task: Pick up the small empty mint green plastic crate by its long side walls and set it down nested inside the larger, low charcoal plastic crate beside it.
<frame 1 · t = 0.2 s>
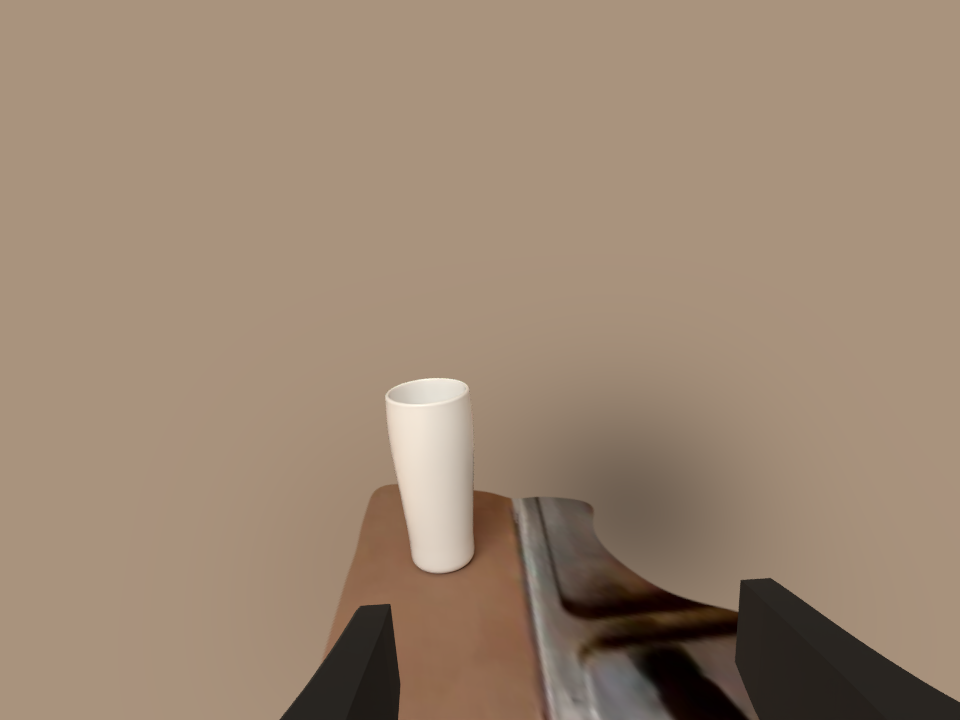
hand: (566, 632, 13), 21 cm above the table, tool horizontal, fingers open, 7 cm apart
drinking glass: (443, 560, 53), on the table
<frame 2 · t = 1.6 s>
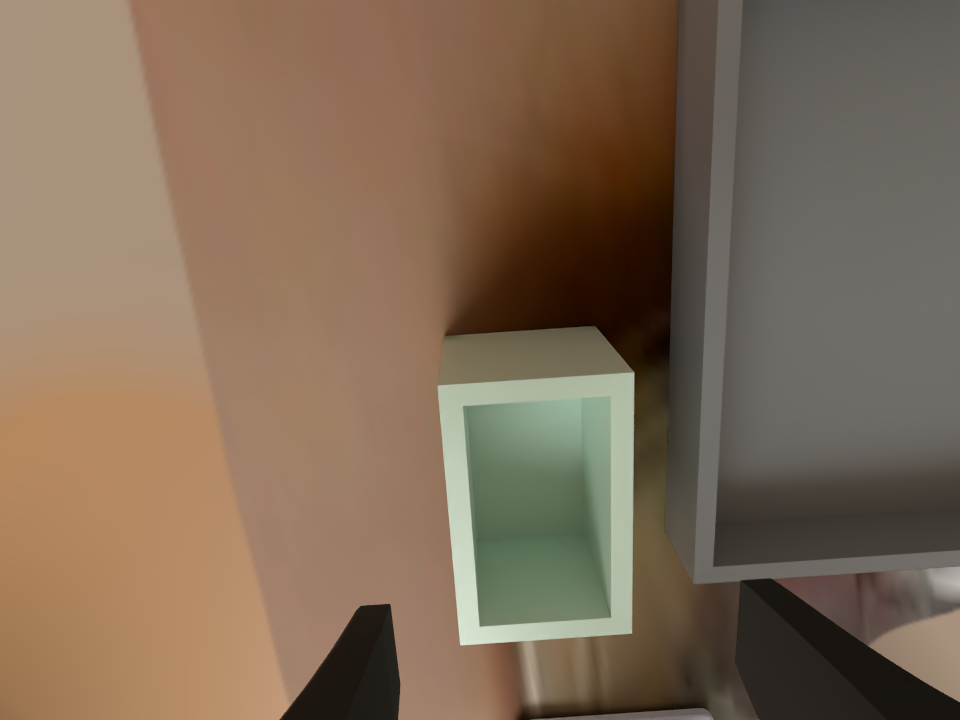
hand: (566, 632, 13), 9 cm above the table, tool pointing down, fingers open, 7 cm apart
charcoal crate: (885, 276, 20), on the table
mint crate: (524, 441, 22), on the table
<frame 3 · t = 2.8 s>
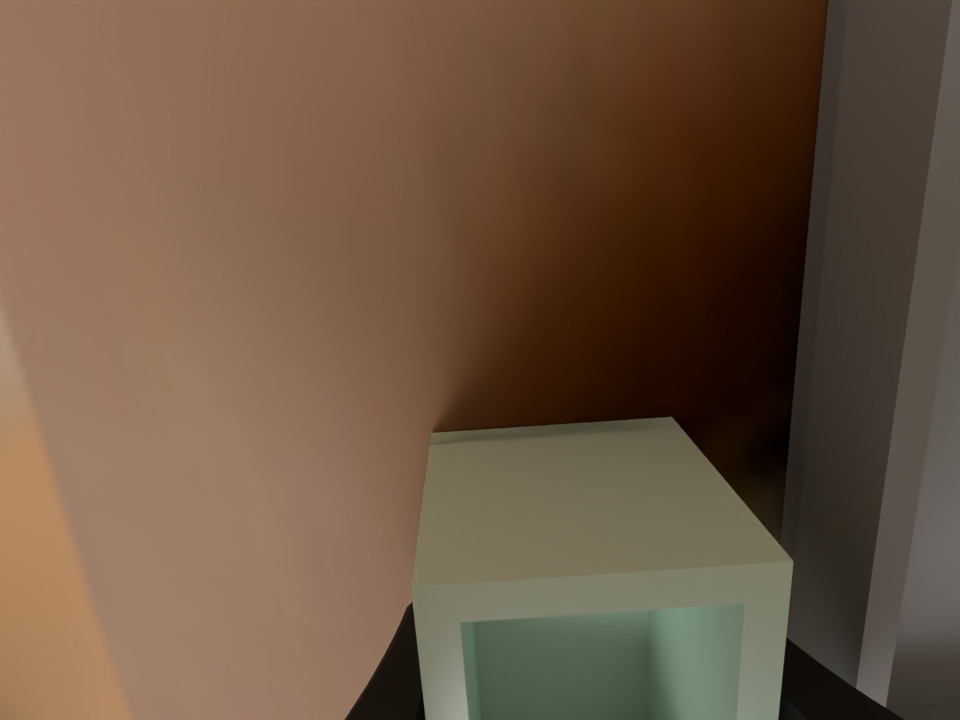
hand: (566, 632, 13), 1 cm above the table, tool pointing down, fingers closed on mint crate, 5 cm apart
mint crate: (556, 588, 14), on the table, touching gripper
when the fingers open (3 cm above the table, at t = 7.0 s): mint crate drops 1 cm, resting on charcoal crate.
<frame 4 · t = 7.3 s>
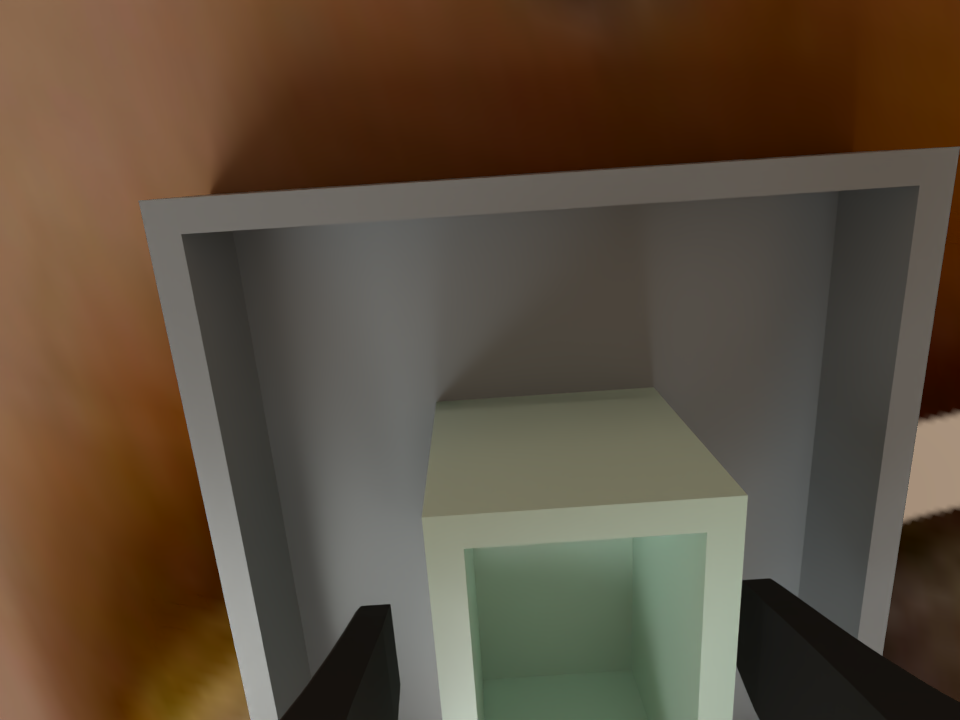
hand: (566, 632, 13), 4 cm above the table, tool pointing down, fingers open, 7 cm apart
charcoal crate: (545, 536, 16), on the table
mint crate: (550, 545, 15), point 1 cm above the table, touching charcoal crate
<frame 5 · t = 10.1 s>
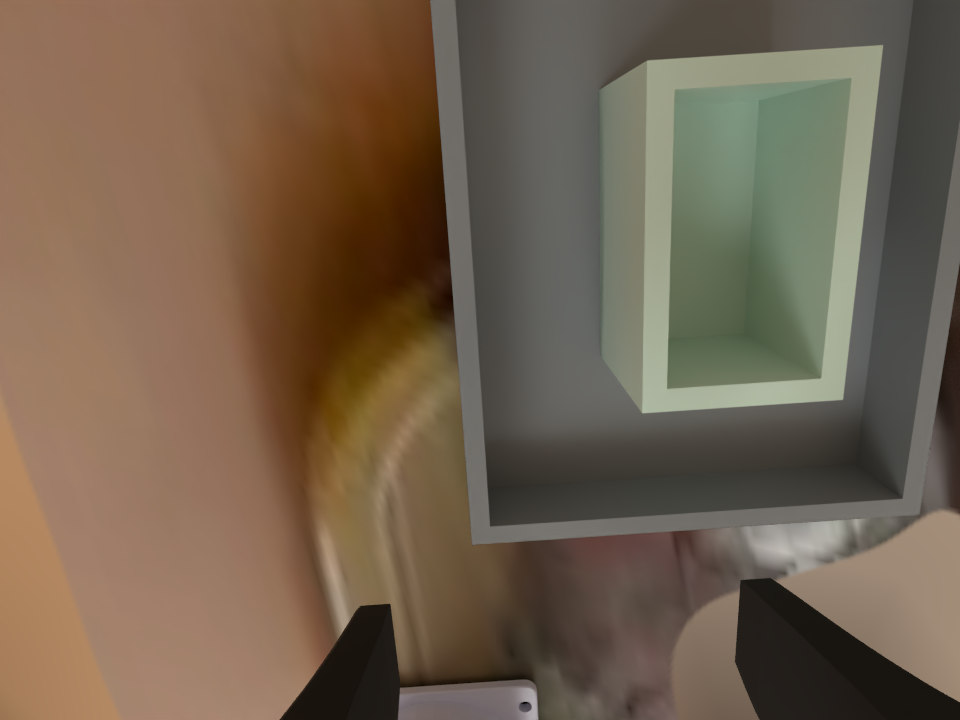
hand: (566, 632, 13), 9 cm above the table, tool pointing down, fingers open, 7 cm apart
charcoal crate: (673, 228, 20), on the table
mint crate: (680, 225, 19), point 1 cm above the table, touching charcoal crate
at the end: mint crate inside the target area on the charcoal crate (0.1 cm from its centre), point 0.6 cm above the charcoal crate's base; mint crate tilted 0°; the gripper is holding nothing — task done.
